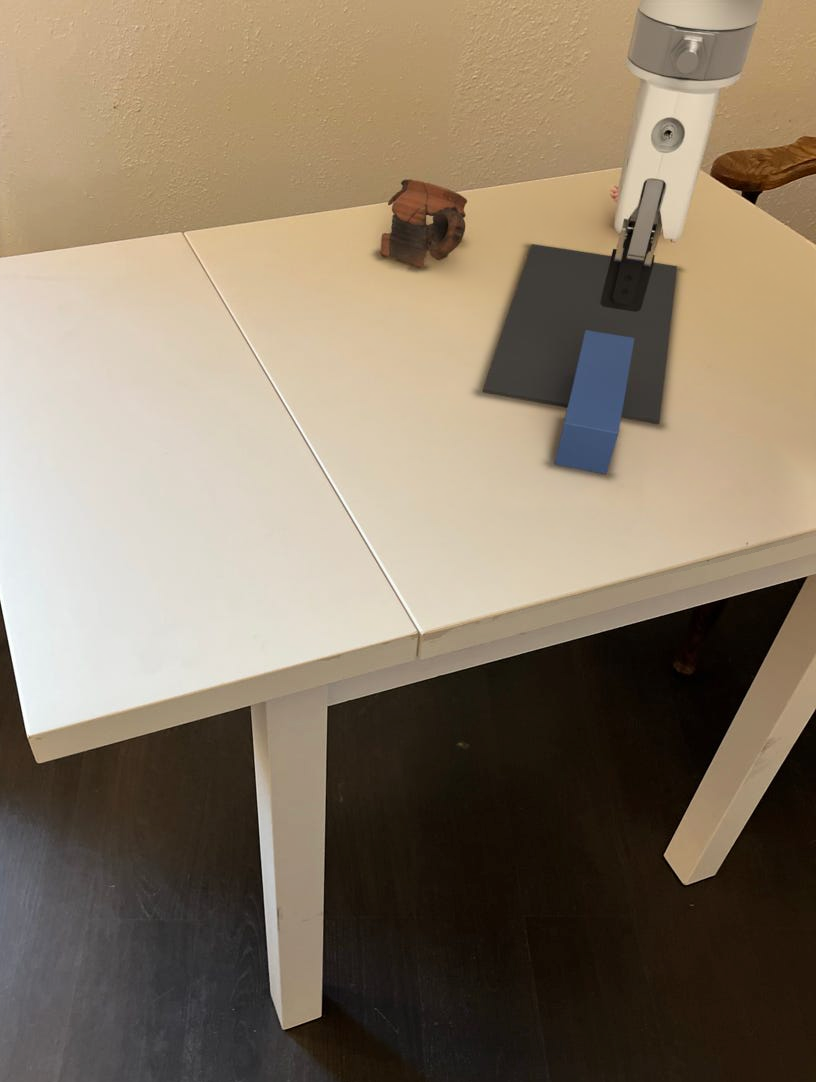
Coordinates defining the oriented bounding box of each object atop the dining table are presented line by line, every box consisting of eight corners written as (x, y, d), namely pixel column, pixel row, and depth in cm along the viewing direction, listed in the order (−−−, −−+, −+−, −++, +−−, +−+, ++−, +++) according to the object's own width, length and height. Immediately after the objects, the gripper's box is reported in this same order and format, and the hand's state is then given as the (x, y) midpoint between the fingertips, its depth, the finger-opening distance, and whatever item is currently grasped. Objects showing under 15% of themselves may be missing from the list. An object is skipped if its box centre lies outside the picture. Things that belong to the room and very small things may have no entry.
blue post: (606, 474, 80) (622, 379, 89) (618, 433, 77) (634, 337, 85) (554, 464, 81) (575, 370, 89) (564, 422, 77) (585, 329, 86)
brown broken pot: (358, 249, 107) (379, 171, 104) (421, 270, 112) (443, 197, 110) (420, 266, 98) (446, 181, 95) (485, 288, 104) (511, 209, 101)
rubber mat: (676, 269, 104) (677, 265, 104) (658, 424, 85) (659, 420, 85) (531, 247, 107) (531, 243, 107) (482, 392, 88) (483, 388, 88)
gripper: (747, 91, 57) (662, 361, 71) (748, 18, 67) (673, 268, 80) (620, 76, 58) (561, 344, 72) (639, 7, 68) (584, 255, 82)
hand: (620, 304), depth 76 cm, fingers closed
